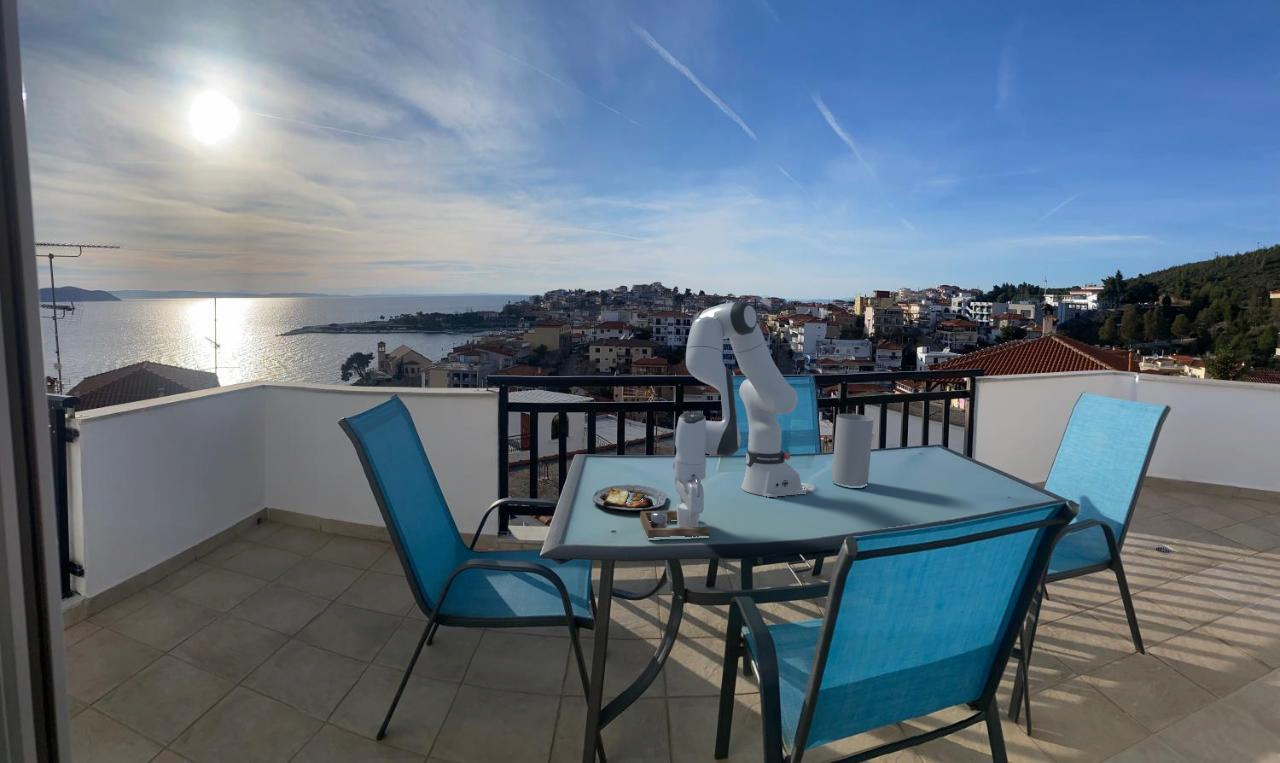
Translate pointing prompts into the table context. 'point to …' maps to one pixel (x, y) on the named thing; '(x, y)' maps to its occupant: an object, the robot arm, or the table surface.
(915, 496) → the table surface
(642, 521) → the wooden u-shaped frame
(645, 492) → the food plate
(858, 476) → the cylinder vase
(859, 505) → the table surface
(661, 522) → the grey rounded piece
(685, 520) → the shot glass
